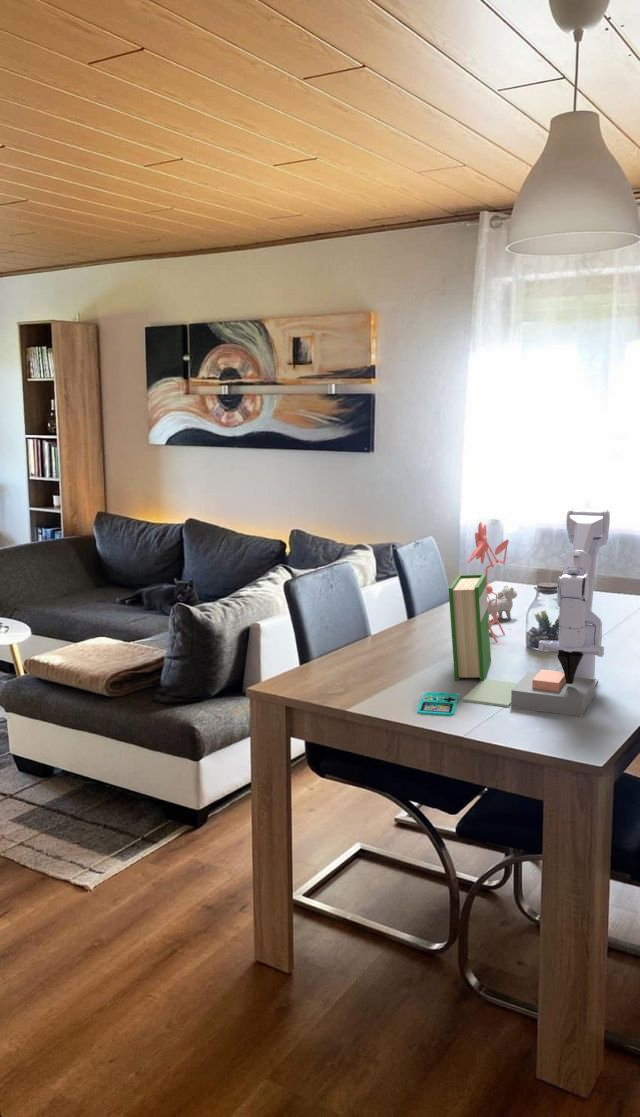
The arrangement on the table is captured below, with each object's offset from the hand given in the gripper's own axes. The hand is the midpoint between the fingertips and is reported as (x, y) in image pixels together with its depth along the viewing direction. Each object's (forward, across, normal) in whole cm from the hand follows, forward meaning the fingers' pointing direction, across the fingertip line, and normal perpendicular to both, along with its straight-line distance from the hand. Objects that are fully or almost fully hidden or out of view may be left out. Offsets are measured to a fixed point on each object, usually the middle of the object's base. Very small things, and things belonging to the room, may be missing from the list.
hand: (569, 682), depth 208 cm
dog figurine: (+5, -36, +74) cm, 83 cm away
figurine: (+5, -36, +50) cm, 62 cm away
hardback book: (+5, -28, +15) cm, 32 cm away
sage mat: (+5, -18, 0) cm, 18 cm away
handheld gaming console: (+6, -28, -13) cm, 31 cm away
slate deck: (+5, -4, 0) cm, 6 cm away
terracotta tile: (+1, -5, 0) cm, 5 cm away
